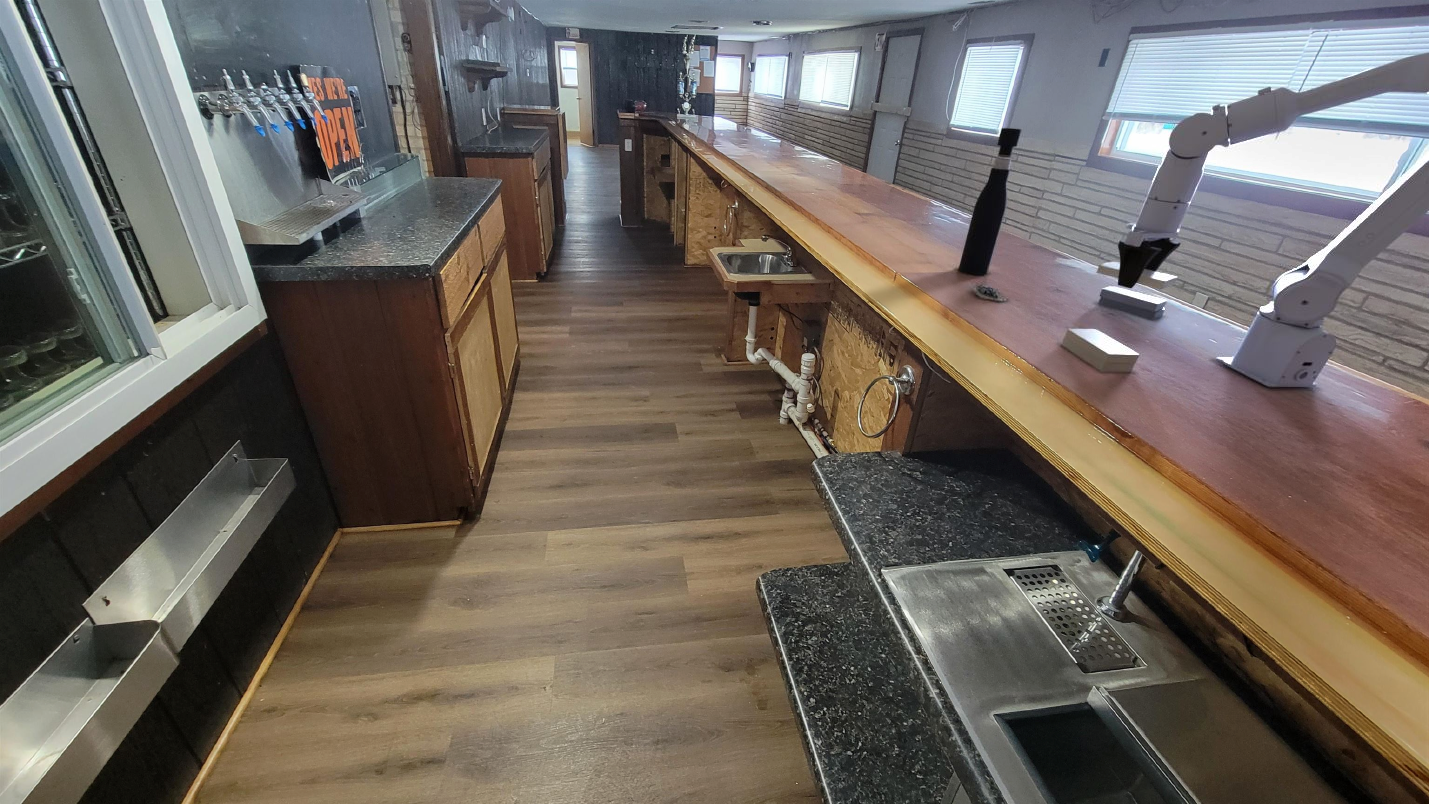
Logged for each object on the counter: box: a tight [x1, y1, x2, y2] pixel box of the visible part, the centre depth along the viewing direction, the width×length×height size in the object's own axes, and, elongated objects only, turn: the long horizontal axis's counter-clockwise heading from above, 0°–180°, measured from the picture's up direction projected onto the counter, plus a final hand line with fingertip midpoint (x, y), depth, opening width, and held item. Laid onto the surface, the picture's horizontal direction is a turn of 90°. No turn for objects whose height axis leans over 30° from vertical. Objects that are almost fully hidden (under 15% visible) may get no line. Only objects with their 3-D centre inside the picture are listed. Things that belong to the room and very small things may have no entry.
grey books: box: [1097, 285, 1168, 321], centre depth 111 cm, size 10×4×3 cm, turn 35°
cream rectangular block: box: [1060, 328, 1140, 372], centre depth 90 cm, size 10×5×3 cm, turn 5°
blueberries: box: [970, 284, 1007, 302], centre depth 116 cm, size 7×8×2 cm
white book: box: [1095, 260, 1179, 290], centre depth 94 cm, size 10×5×1 cm, turn 34°
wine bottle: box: [958, 127, 1023, 276], centre depth 124 cm, size 6×6×30 cm
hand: (1132, 284), depth 95 cm, fingers closed on white book, 5 cm apart
